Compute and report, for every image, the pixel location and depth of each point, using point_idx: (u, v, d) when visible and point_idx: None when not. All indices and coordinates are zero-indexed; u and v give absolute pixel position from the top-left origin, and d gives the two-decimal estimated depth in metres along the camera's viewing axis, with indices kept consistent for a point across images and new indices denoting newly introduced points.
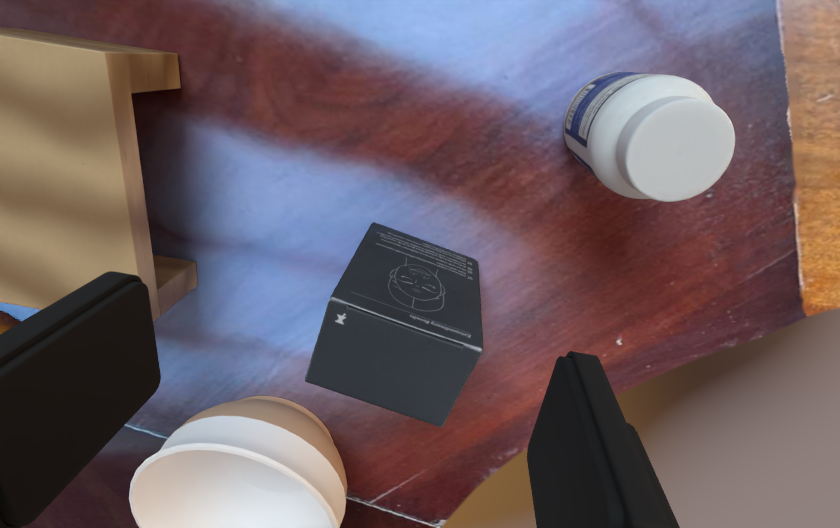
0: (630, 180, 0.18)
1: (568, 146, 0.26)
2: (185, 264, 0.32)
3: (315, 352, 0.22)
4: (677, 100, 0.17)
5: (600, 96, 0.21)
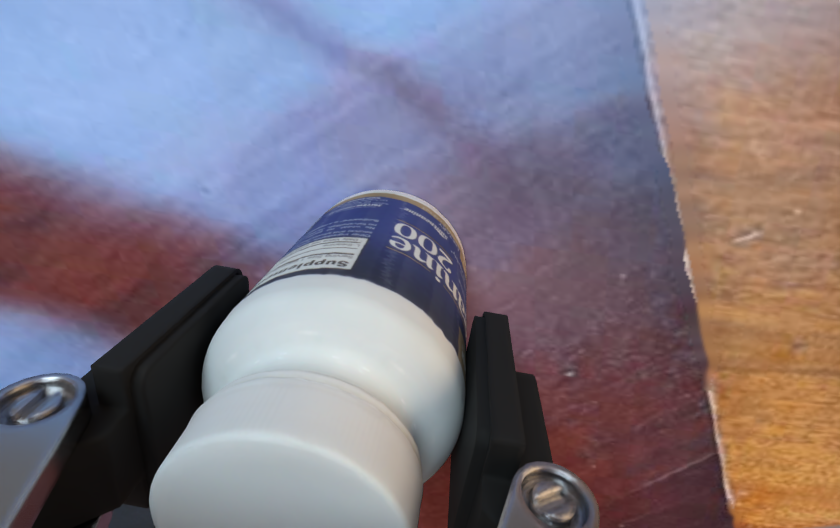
0: None
1: None
2: None
3: None
4: (227, 431, 0.06)
5: None
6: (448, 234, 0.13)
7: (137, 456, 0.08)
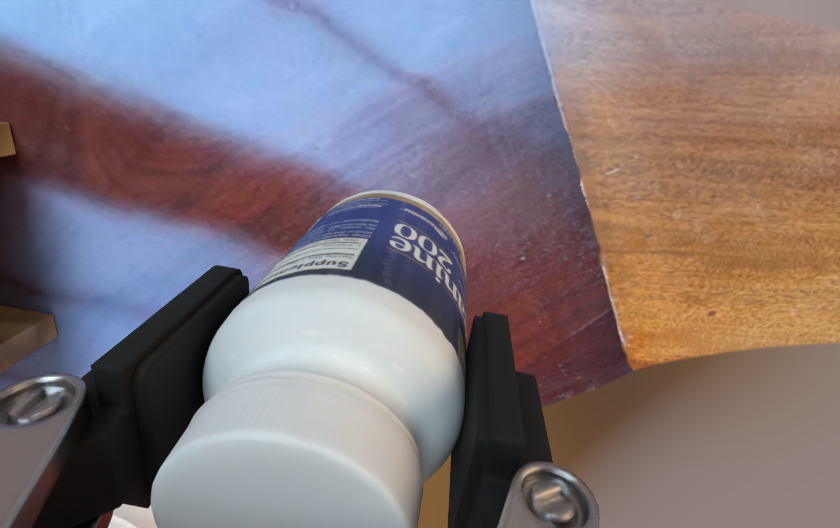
0: None
1: None
2: (40, 317, 0.33)
3: None
4: (229, 431, 0.06)
5: None
6: (448, 234, 0.13)
7: (137, 457, 0.08)
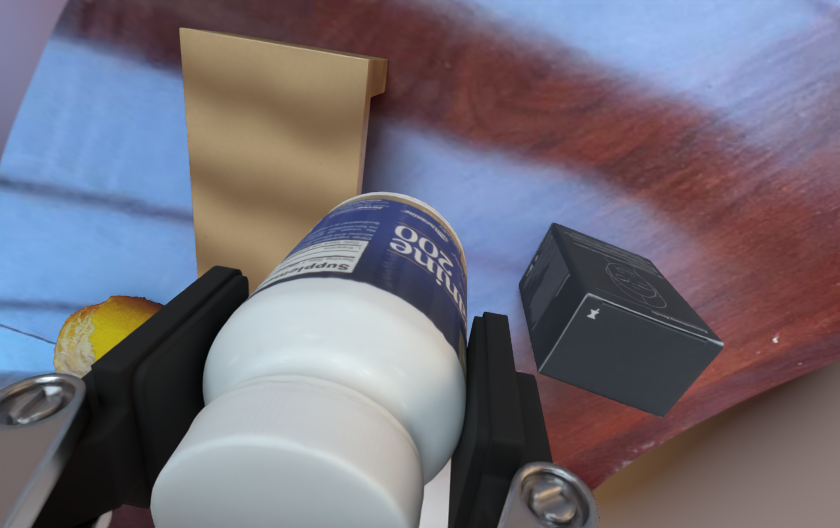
0: None
1: None
2: None
3: (558, 345, 0.23)
4: (229, 436, 0.06)
5: None
6: (449, 236, 0.13)
7: (137, 456, 0.08)
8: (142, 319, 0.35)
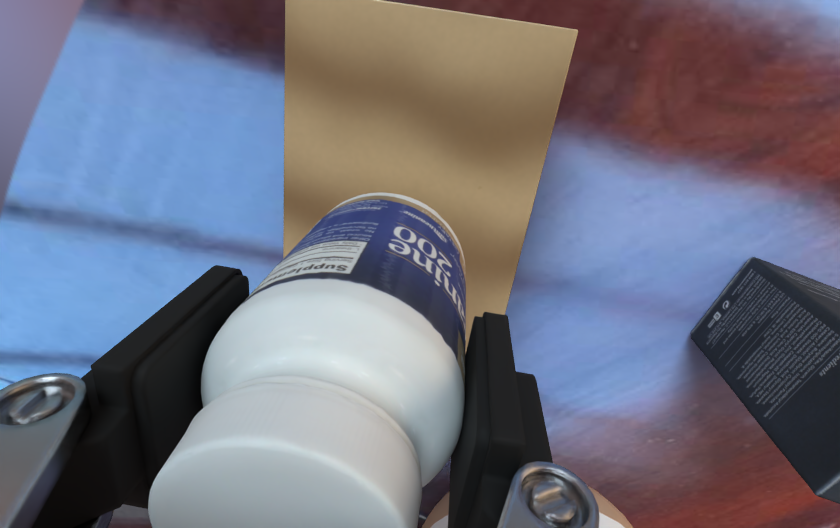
0: None
1: None
2: None
3: None
4: (226, 437, 0.06)
5: None
6: (448, 237, 0.13)
7: (138, 456, 0.08)
8: None
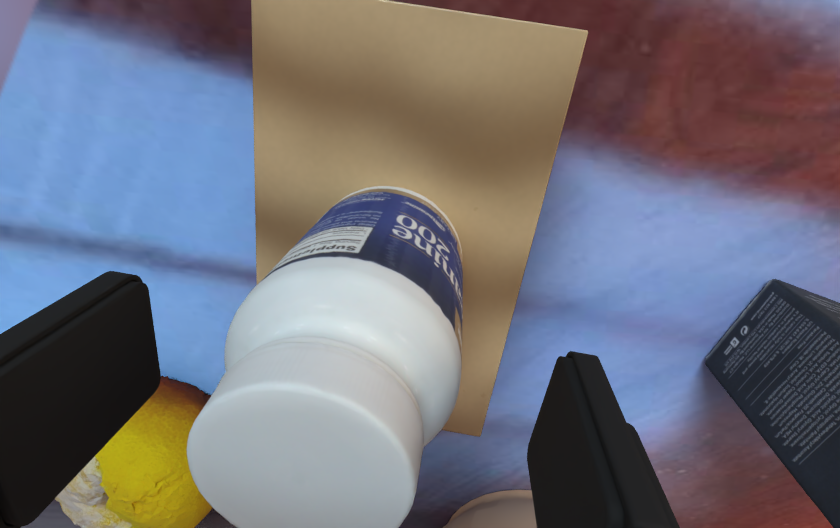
0: (222, 513, 0.08)
1: None
2: None
3: None
4: (257, 383, 0.07)
5: None
6: (446, 227, 0.14)
7: None
8: (167, 415, 0.25)
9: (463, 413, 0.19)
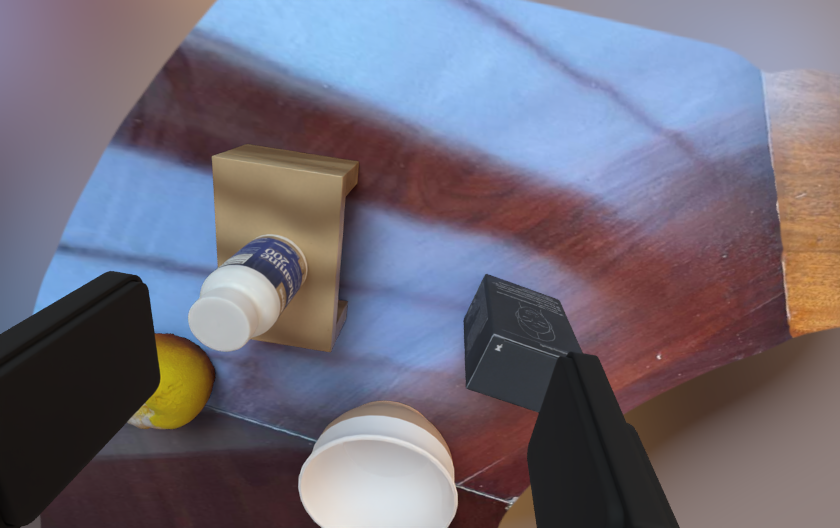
0: (198, 339, 0.28)
1: None
2: (342, 303, 0.44)
3: (477, 369, 0.34)
4: (206, 297, 0.27)
5: None
6: (293, 252, 0.34)
7: None
8: (174, 352, 0.45)
9: (320, 339, 0.39)
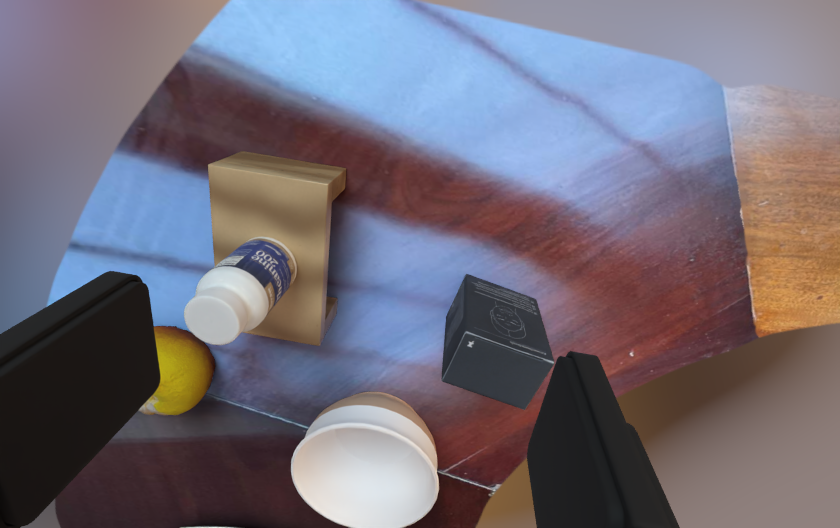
0: (193, 333, 0.31)
1: None
2: (332, 300, 0.47)
3: (451, 363, 0.36)
4: (200, 296, 0.30)
5: None
6: (283, 253, 0.37)
7: None
8: (176, 344, 0.48)
9: (310, 334, 0.42)
